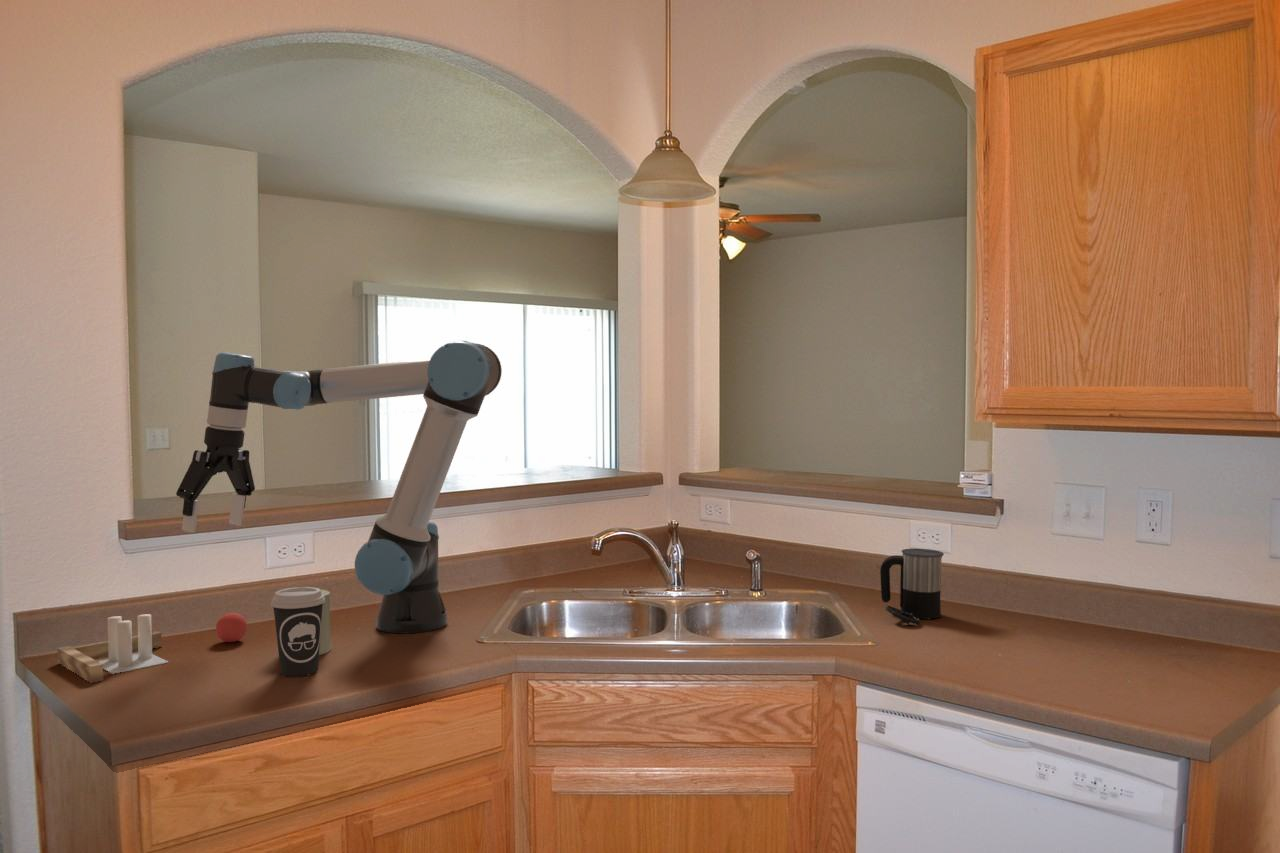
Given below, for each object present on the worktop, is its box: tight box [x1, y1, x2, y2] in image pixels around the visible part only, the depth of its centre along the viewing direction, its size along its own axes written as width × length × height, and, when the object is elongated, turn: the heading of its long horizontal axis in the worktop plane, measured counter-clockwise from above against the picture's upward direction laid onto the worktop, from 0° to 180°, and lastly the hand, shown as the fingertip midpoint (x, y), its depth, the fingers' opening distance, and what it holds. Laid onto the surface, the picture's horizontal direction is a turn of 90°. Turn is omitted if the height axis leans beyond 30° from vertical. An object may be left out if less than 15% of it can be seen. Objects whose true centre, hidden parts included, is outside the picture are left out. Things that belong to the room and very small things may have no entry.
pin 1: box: [107, 615, 123, 662], centre depth 186 cm, size 2×2×8 cm
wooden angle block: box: [57, 630, 163, 684], centre depth 185 cm, size 18×18×3 cm
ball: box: [215, 612, 248, 643], centre depth 200 cm, size 6×6×6 cm
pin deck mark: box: [96, 652, 169, 675], centre depth 185 cm, size 12×10×1 cm
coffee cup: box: [270, 586, 325, 677], centre depth 179 cm, size 10×10×15 cm
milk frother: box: [879, 548, 944, 625], centre depth 218 cm, size 14×16×15 cm
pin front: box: [136, 613, 153, 660], centre depth 187 cm, size 2×2×8 cm
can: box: [319, 589, 332, 656], centre depth 193 cm, size 9×9×12 cm
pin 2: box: [117, 619, 133, 667], centre depth 182 cm, size 2×2×8 cm
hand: (212, 528), depth 202 cm, fingers open, 13 cm apart
